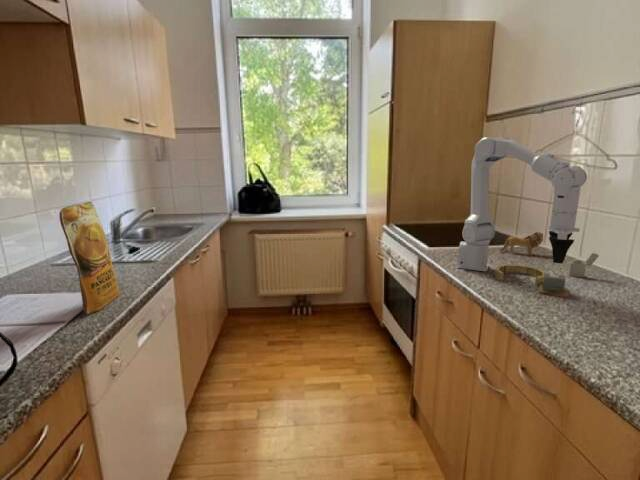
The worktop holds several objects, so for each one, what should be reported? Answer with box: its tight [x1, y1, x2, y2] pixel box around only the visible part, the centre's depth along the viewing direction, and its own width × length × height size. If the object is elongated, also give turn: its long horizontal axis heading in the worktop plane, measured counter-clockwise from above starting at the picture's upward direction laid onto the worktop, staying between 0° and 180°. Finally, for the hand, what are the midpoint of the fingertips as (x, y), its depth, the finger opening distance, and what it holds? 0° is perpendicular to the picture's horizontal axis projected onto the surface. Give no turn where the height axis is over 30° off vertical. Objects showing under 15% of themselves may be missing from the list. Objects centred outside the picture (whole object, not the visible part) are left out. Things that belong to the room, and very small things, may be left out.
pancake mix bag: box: [59, 201, 121, 315], centre depth 100 cm, size 7×19×28 cm, turn 3°
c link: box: [543, 272, 566, 293], centre depth 105 cm, size 5×4×4 cm
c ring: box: [494, 264, 547, 287], centre depth 119 cm, size 14×15×2 cm
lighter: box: [567, 252, 599, 278], centre depth 117 cm, size 7×2×8 cm, turn 68°
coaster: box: [538, 284, 569, 299], centre depth 106 cm, size 7×7×1 cm
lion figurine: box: [499, 231, 544, 257], centre depth 145 cm, size 15×5×9 cm, turn 72°
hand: (557, 259), depth 103 cm, fingers open, 7 cm apart
